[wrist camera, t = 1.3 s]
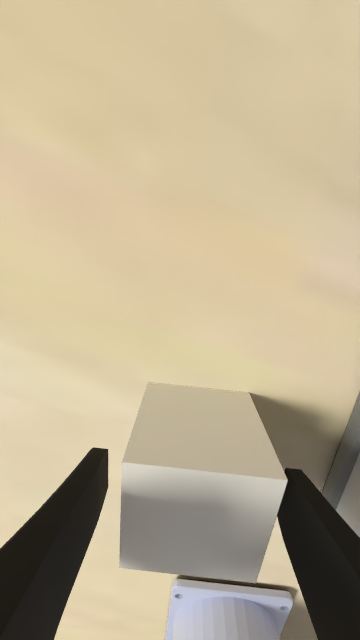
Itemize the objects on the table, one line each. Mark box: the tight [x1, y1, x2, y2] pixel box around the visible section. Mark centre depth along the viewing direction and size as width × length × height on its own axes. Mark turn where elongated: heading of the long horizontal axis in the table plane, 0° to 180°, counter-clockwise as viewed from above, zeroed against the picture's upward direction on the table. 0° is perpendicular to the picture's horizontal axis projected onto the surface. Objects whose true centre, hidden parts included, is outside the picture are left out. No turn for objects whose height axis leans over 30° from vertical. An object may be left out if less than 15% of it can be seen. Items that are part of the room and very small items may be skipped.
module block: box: [119, 382, 288, 583], centre depth 9 cm, size 5×5×4 cm
